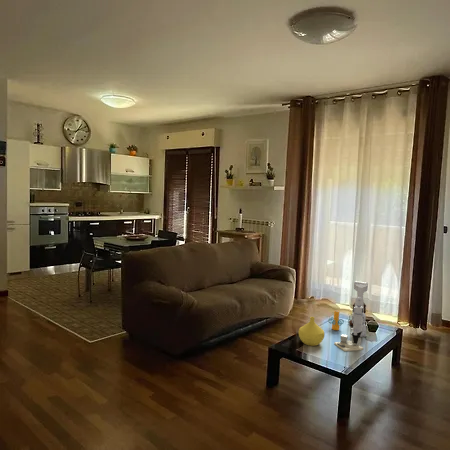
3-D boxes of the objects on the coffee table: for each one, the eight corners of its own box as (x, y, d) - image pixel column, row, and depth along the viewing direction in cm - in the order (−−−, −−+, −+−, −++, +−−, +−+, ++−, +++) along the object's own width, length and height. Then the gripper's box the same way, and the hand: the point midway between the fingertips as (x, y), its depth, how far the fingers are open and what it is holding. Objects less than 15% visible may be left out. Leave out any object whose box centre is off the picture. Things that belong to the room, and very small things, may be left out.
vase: (305, 336, 292) (306, 311, 291) (328, 343, 281) (329, 317, 279) (293, 343, 278) (294, 317, 276) (316, 350, 266) (318, 323, 265)
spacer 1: (341, 340, 280) (342, 334, 280) (347, 342, 279) (347, 335, 278) (340, 342, 277) (340, 335, 277) (346, 343, 275) (346, 337, 275)
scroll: (362, 322, 330) (364, 300, 328) (370, 329, 315) (372, 305, 313) (346, 322, 329) (347, 299, 327) (352, 328, 314) (354, 304, 312)
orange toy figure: (341, 327, 316) (343, 309, 315) (344, 332, 306) (345, 313, 304) (326, 326, 317) (327, 308, 316) (328, 330, 307) (330, 312, 305)
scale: (352, 342, 284) (352, 339, 284) (363, 349, 272) (363, 346, 271) (334, 343, 280) (334, 340, 280) (344, 351, 267) (344, 347, 267)
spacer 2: (356, 342, 276) (356, 335, 276) (360, 344, 273) (360, 337, 272) (352, 343, 275) (352, 336, 274) (356, 345, 271) (356, 338, 271)
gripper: (353, 319, 281) (352, 337, 282) (349, 325, 268) (348, 344, 269) (363, 321, 277) (362, 339, 279) (360, 327, 265) (359, 346, 266)
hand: (356, 341), depth 274 cm, fingers closed on spacer 2, 5 cm apart
